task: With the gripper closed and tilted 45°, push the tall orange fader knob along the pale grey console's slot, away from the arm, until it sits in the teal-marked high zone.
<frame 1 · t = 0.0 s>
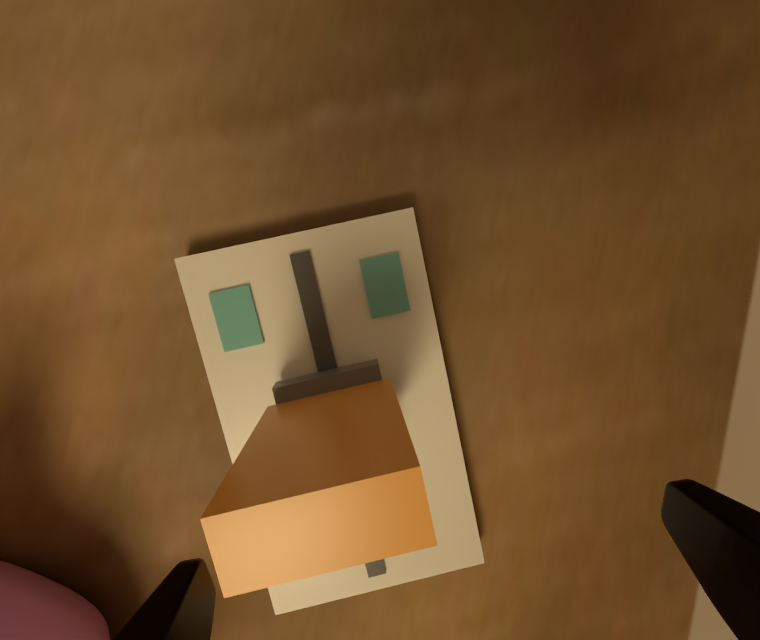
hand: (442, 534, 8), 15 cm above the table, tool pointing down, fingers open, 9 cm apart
console: (341, 412, 24), on the table
fader: (331, 450, 16), point 7 cm above the table, slide at 0.0 cm
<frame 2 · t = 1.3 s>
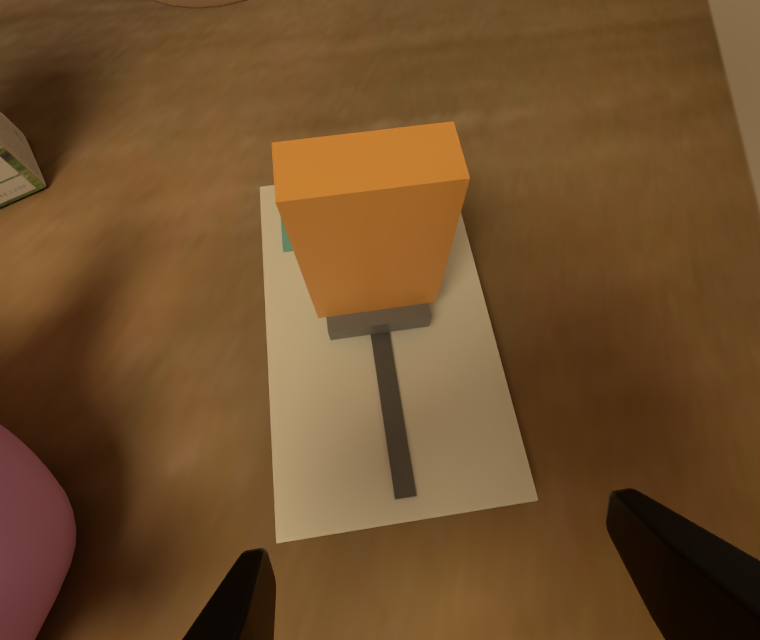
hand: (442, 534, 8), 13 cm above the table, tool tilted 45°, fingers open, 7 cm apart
console: (377, 329, 24), on the table
fader: (372, 247, 18), point 7 cm above the table, slide at 0.0 cm
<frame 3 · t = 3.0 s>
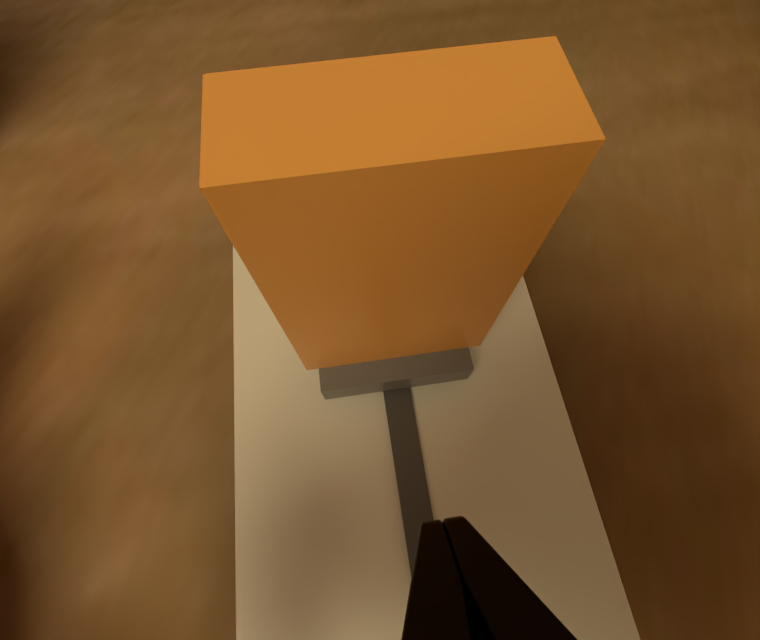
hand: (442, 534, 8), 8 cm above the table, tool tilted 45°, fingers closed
console: (391, 377, 17), on the table
fader: (390, 269, 11), point 7 cm above the table, slide at 0.0 cm
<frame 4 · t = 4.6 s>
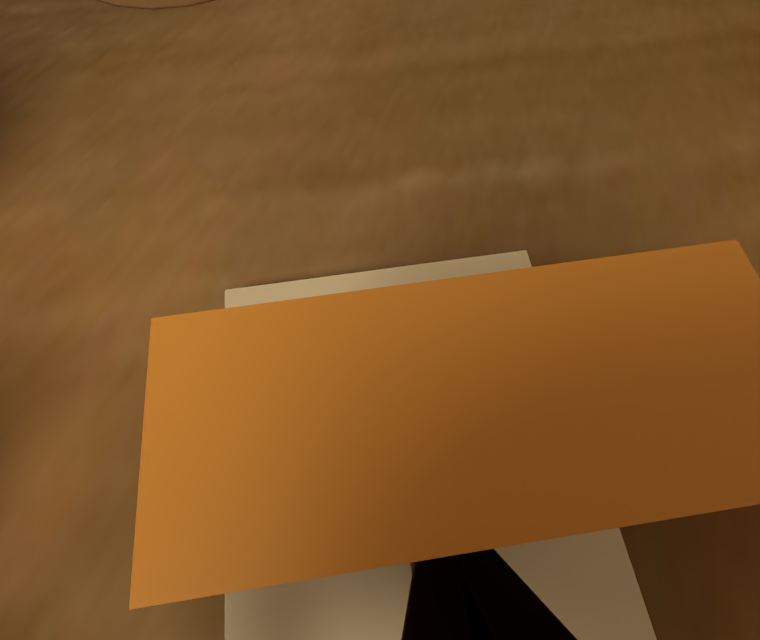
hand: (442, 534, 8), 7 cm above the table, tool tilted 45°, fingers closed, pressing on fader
console: (421, 550, 14), on the table
fader: (428, 453, 8), point 7 cm above the table, slide at 1.4 cm, touching gripper
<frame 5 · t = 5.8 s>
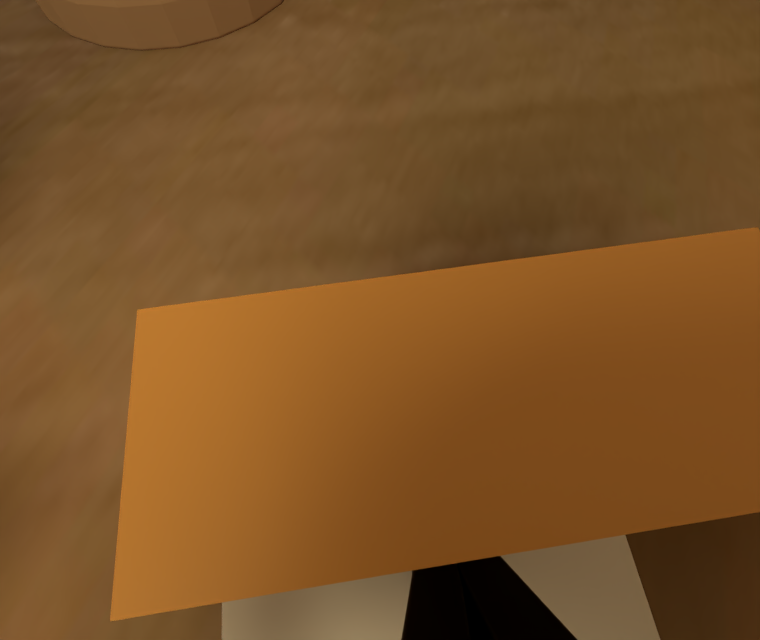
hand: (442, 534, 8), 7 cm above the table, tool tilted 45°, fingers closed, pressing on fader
fader: (429, 452, 8), point 7 cm above the table, slide at 5.9 cm, touching gripper
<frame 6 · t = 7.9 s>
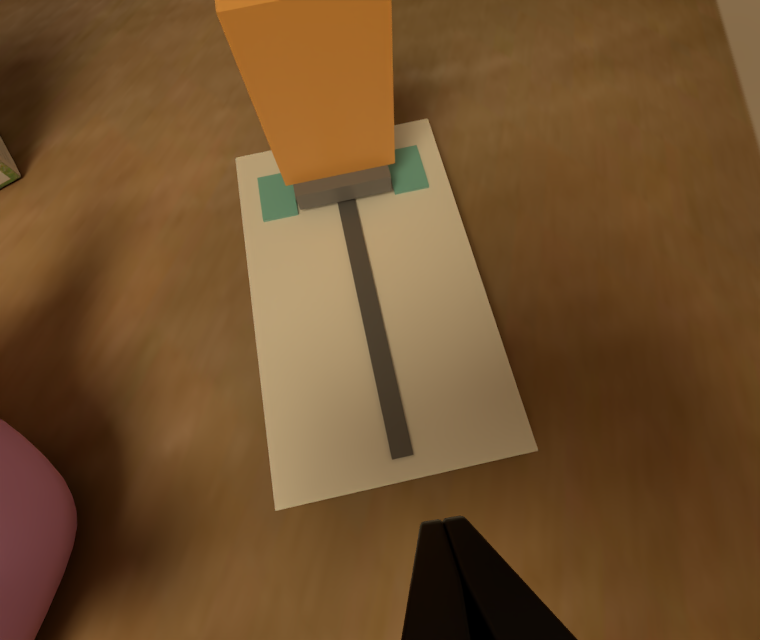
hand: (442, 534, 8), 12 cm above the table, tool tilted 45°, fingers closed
console: (366, 293, 24), on the table
fader: (324, 97, 19), point 7 cm above the table, slide at 5.9 cm
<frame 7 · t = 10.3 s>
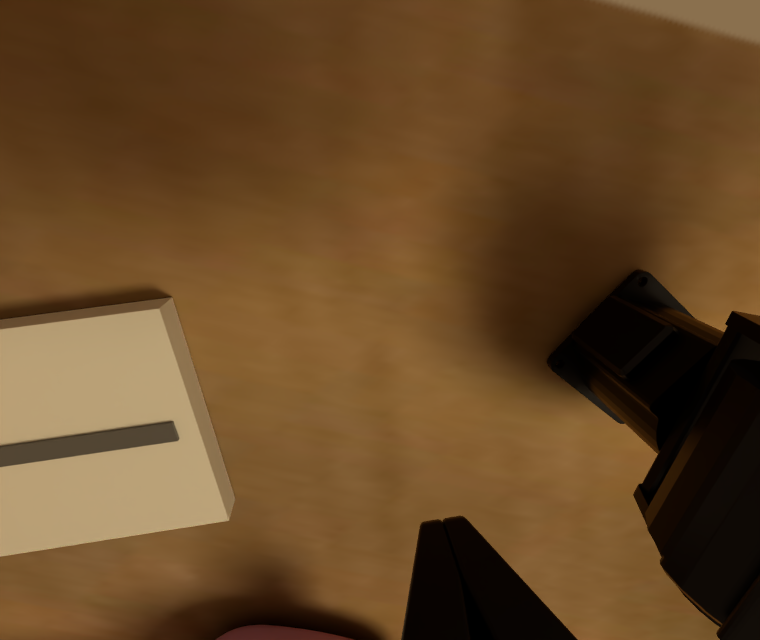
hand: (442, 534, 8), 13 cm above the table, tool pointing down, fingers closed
console: (2, 438, 21), on the table
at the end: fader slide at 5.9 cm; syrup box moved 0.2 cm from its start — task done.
